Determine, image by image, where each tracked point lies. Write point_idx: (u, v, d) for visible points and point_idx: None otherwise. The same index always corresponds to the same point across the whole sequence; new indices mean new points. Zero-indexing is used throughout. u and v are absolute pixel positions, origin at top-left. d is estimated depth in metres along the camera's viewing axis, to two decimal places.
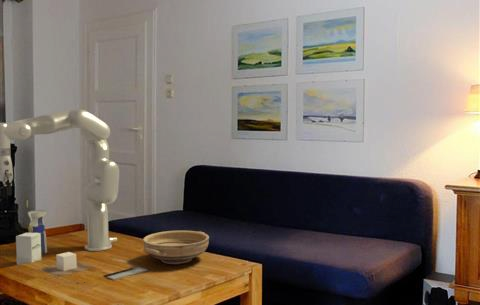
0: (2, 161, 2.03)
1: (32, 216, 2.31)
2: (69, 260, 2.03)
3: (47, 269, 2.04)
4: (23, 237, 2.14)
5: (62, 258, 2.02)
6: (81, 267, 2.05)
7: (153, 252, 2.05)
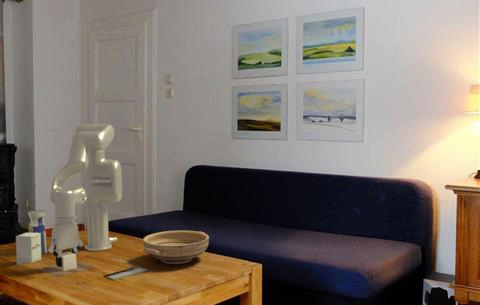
0: None
1: (32, 216, 2.31)
2: (69, 260, 2.03)
3: (47, 269, 2.04)
4: (23, 237, 2.14)
5: (62, 258, 2.02)
6: (81, 267, 2.05)
7: (153, 252, 2.05)
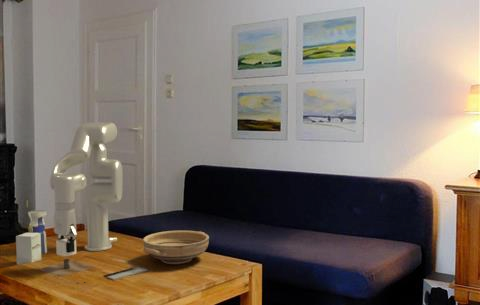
0: None
1: (32, 216, 2.31)
2: None
3: (47, 269, 2.04)
4: (23, 237, 2.14)
5: (74, 242, 2.05)
6: (81, 267, 2.05)
7: (153, 252, 2.05)
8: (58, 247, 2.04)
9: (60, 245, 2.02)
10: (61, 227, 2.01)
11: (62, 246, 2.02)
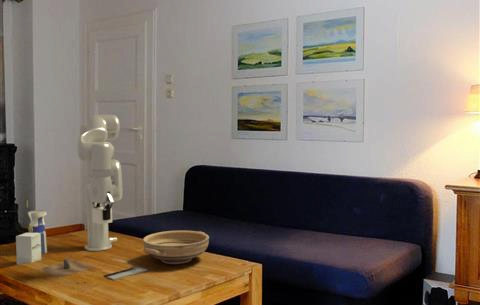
0: None
1: (32, 216, 2.31)
2: None
3: (47, 269, 2.04)
4: (23, 237, 2.14)
5: (110, 210, 2.03)
6: (81, 267, 2.05)
7: (153, 252, 2.05)
8: (94, 215, 2.02)
9: (96, 213, 2.01)
10: (98, 194, 2.00)
11: (98, 214, 2.00)
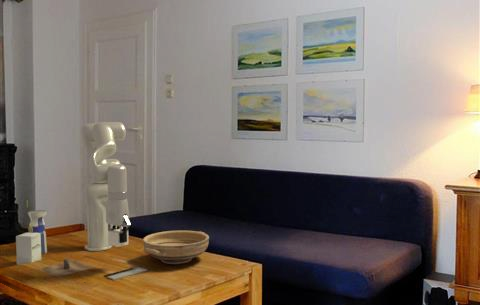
0: None
1: (32, 216, 2.31)
2: None
3: (47, 269, 2.04)
4: (23, 237, 2.14)
5: None
6: (81, 267, 2.05)
7: (153, 252, 2.05)
8: (110, 237, 2.03)
9: (113, 235, 2.01)
10: (114, 217, 2.00)
11: (115, 236, 2.01)
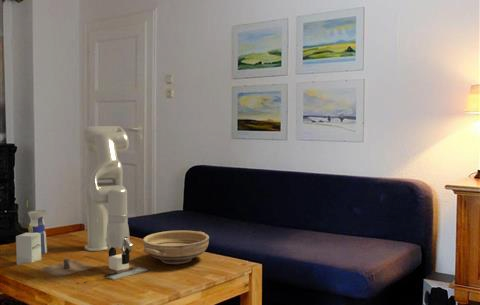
0: None
1: (32, 216, 2.31)
2: None
3: (47, 269, 2.04)
4: (23, 237, 2.14)
5: None
6: (81, 267, 2.05)
7: (153, 252, 2.05)
8: (111, 263, 2.04)
9: (114, 261, 2.02)
10: (115, 240, 2.01)
11: (116, 262, 2.02)
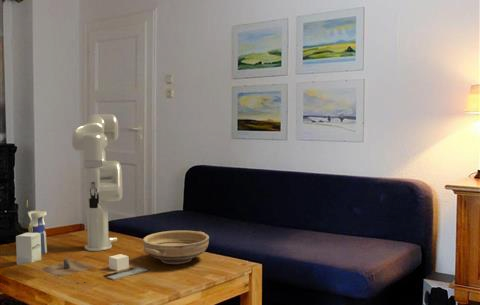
0: None
1: (32, 216, 2.31)
2: None
3: (47, 269, 2.04)
4: (23, 237, 2.14)
5: (127, 258, 2.05)
6: (81, 267, 2.05)
7: (153, 252, 2.05)
8: (111, 263, 2.04)
9: (114, 261, 2.02)
10: None
11: (116, 262, 2.02)
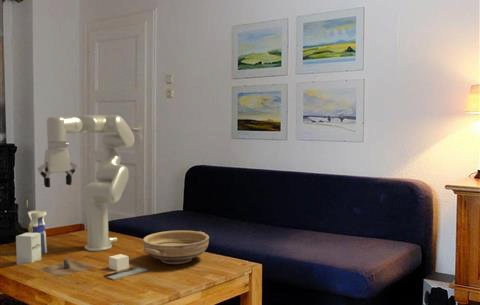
0: (68, 152, 2.18)
1: (32, 216, 2.31)
2: None
3: (47, 269, 2.04)
4: (23, 237, 2.14)
5: (127, 258, 2.05)
6: (81, 267, 2.05)
7: (153, 252, 2.05)
8: (111, 263, 2.04)
9: (114, 261, 2.02)
10: None
11: (116, 262, 2.02)
